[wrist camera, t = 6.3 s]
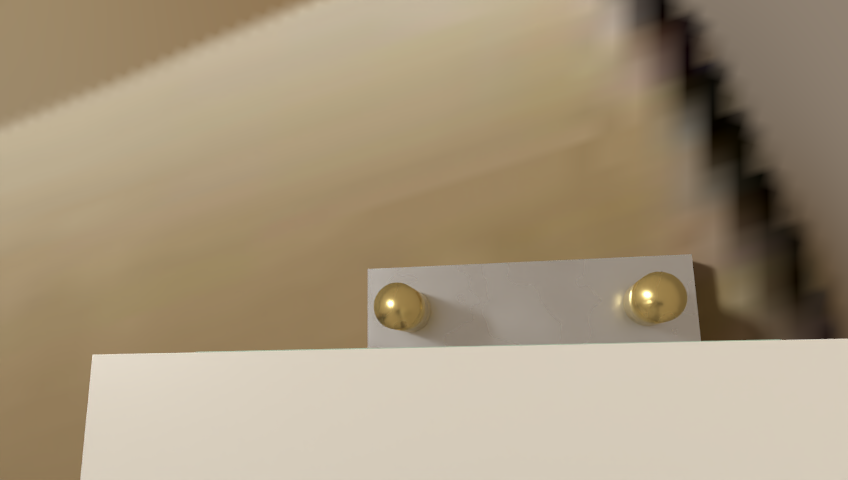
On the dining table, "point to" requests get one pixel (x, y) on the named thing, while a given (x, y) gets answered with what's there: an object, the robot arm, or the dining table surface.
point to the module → (475, 413)
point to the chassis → (534, 303)
